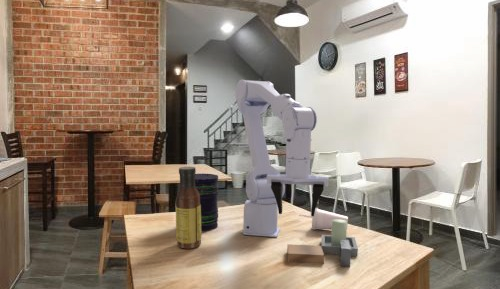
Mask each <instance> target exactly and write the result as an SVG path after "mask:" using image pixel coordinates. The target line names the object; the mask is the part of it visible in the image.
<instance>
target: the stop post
mask: <svg viewBox="0 0 500 289" xmlns="http://www.w3.org/2000/svg"><path fill="white" fill-rule="evenodd" d="M351 257H352V256H351V248H350V243H349V240H341V239H340V254H339V264H340V267H346V268H351Z"/></svg>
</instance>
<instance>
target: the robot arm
mask: <svg viewBox="0 0 500 289" xmlns="http://www.w3.org/2000/svg"><path fill="white" fill-rule="evenodd" d="M291 96H292V95H291V94H289V93H282V94H280V93H279V92H278V91H277V90H276V89H275V88H274V83H272V82H271V81H269V80H265V81H261V80H249V79H246V80H245V79H240V80H239V81H238V82H237V84H236V89H235V99H236V104H237V110H238V111H239V112H240V113H241V114H242V118H243V123H244V128H245V133H246V139H247V143H248V149H249V153H250V159H251V163H252V164H251V165H252V168H251V170H250V171H249V172H248V173H247V175H246V176H245V193H246V196H247V198H248V199H249V200H248V199H247V200H245V202H244V206H243V228H242V229H243V232H242V235H245V236H246V235H247V236H259V237H270V238H277V237H278V235H279V233H280V229H281V227H280V226H278V218H279V217H278V215H282V214H283V197H284V195H285V192H286V185H287V184H288V185H300V186H301V185H303V186H304V185H305V186H312V200H311V211H310V212H311V213H310V216H314V213H315V208H317V205H318V202H319V200H320V198H321V195H322V194H323V192H324V187H329V182H330V181H329V180H330V178H329V177H328V176H320V175H311V173H310V172H311V170H310V168H311V146H312V143H311V142H312V131H313V130H314V129H315V128H316V126H317V122H318V116H317V113H316V111H315V110H314V108H313V107H312V106H307V107H303V106H302V105H301V103H300V102H298V101H295V100H294V98H292V97H291ZM269 106H270V107H271V108H270V109H271V111H272V113H273V114H274V115H275V116H277V118H279V119H280V120H281V124H282V128H283V130H284V131H283V132H284V133H283V134H284V135H283V136H284V138H285V139H286V144H285V146H286V147H285V148H286V149H285V174H283V173H282V174H281V173H280V171H279V170H278V169H277V168H275V167H274V166H273V165H272V164H271V160H270V156H269V155H270V154H269V150H268V146H267V141H266V136H265V131H264V127H263V123H262V118H261V115H262V114H263V113H265V112H267V109H268V107H269Z"/></svg>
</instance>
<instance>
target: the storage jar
mask: <svg viewBox="0 0 500 289" xmlns="http://www.w3.org/2000/svg"><path fill="white" fill-rule="evenodd" d="M195 187H196V188H197V189H198V191H199V194H200V204H201V232H209V231H213V230H216V229H217V228H218V226H219V225H218V221H219V208H218V195H219V175H217V174H213V173H195Z"/></svg>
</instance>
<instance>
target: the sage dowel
mask: <svg viewBox="0 0 500 289" xmlns="http://www.w3.org/2000/svg"><path fill="white" fill-rule="evenodd" d="M347 230H348V225H347V221H345V220H340V219H335V220H332V229H331V235H332V236H331V246H340V239H341V240H346V237H347V233H348V232H347Z"/></svg>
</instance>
